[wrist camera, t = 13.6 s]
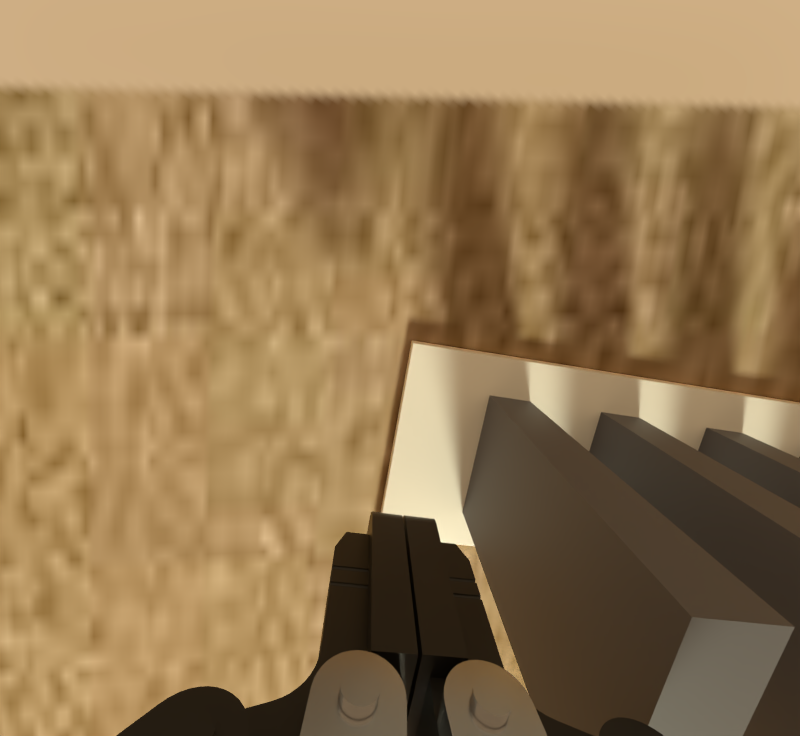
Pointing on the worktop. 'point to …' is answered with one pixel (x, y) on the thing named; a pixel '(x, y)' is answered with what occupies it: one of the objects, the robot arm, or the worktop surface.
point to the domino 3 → (755, 462)
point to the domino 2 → (721, 536)
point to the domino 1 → (610, 590)
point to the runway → (558, 399)
